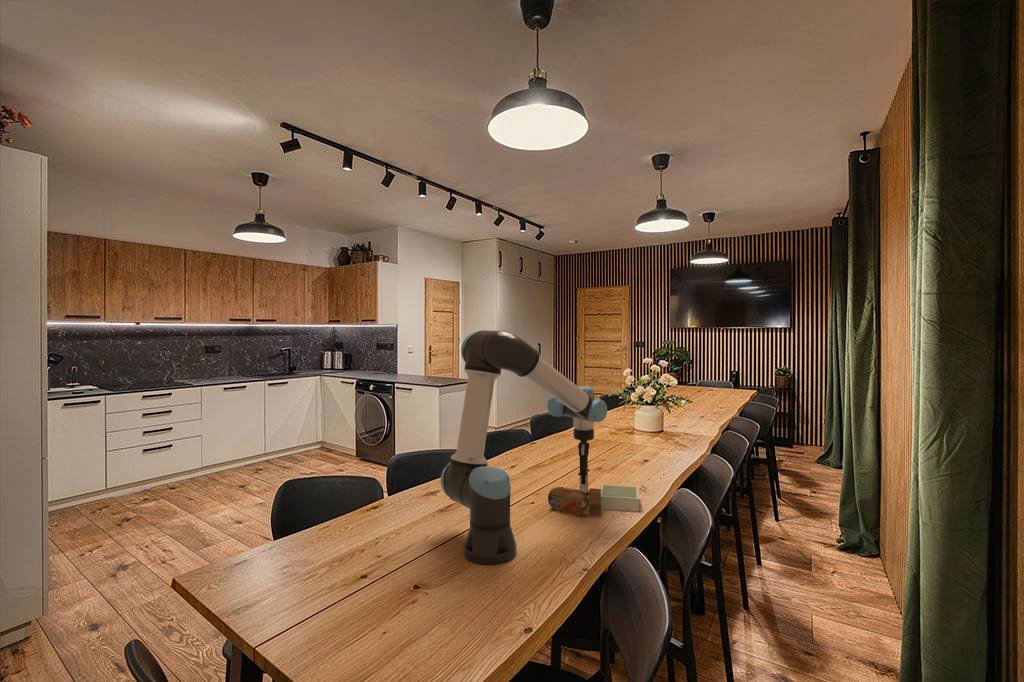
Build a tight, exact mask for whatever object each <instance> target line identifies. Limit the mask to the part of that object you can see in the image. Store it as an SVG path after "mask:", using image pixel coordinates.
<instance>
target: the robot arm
mask: <svg viewBox="0 0 1024 682" xmlns="http://www.w3.org/2000/svg"><path fill="white" fill-rule="evenodd" d="M460 354H461V357H462V359H463V362H464V369H463V370H464V372H465V373H466V375H467V382H466V388H465V394H464V401H463V409H462V413H461V420H460V427H459V433H458V440H457V444H456V445H457V447H456V452H454V453H453V454H452V455H451V456H450V459H449V463H447V464H446V465H445V466H444V467H443V469H442V472H441V475H440V485H441V486H440V487H441V488H442V491H443V493H444V494H445V495H446V496H447V497H448V498H449V499H451V500H452V501H453V502H456V503H458V504H459V505H462V506H463V507H465V508H468V509H469V528H468V531H467V534H466V538H465V541H464V544H463V555H464V557H465V558H466V559H467V560H468V561H469V562H472V563H474V564H479V565H486V566H487V565H499V564H503V563H507V562H510V561H511V560H512V559H514V558H515V557H516V556H517V542H516V541H517V540H516V538H515V536H514V533H513V530H512V526H511V490H512V487H511V479H510V476H509V474H508V473H507V472H506V471H505V470H504V469H501V468H499V467H493V466H489V465H488V460H487V459H486V458H485V455H484V454H485V448H486V447H485V446H486V440H487V435H488V429H489V428H488V427H489V420H490V415H491V407H492V400H493V395H494V388H495V381H496V380H497V379H498V378H499V377H501V373H502V370H506V371H509V372H511V373H514V374H515V375H517V376H518V377H520V378H526V379H528V380H529V381H531V382H532V383H534V384H535V385H536V386H538V387H539V388H541V389H542V390H544V391H545V392H546V393H547V394H548V395H550V397H549V398H548V399H547V403H546V404H547V406H546V407H547V411H548V413H549V414H550V415H551V416H553V417H556V418H557V417H558V418H560V417H568V418H572V419H573V422H572V423H573V438H574V440H577V441H579V442H578V446H577V449H578V456H579V473H577V475H578V476H579V489H580V490H581V491H583V492H584V493H587V469H588V473H589V472H590V470H591V469H589V466H588V465H589V463H588V462H589V461H588V459H589V454H590V451H589V449H590V442H588V441H592V440H594V439H595V429H594V427H595V423H601V422H603V421H604V420H605V419H606V417H607V415H608V405H607V403H606V402H605V401H604V400H602V399H598V398H595V395H594V394H595V392H594V388H593V387H591V386H585V385H584V386H582V385H581V386H577V385H576V383H574V382H573V381H571V380H570V379H568V377H566V375H563V374H562V373H561V372H560V371H558V369H556V368H554V367H553V366H552V365H551V364H550V363H548V362H547V361H546V360H544V359H543V358H542V357H541V355H540V352H539V351H538V350H537V349H536V348H535V347H533V346H532V345H531V344H530V343H528V342H527V341H525V340H523V338H521V337H519V336H518V335H516V334H514V333H512V332H510V331H506V330H483V329H482V330H478V331H477V330H476V331H474V332H471V333H470V334H469V335H466V337H465V338H464V340H463V342H462V344H461V348H460Z"/></svg>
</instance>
